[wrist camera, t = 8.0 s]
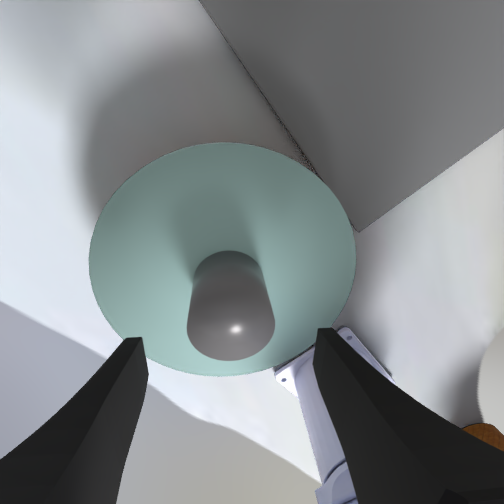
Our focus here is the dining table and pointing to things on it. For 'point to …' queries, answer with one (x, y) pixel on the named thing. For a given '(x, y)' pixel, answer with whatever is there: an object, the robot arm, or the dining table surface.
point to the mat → (374, 86)
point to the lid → (222, 259)
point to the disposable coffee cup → (487, 434)
